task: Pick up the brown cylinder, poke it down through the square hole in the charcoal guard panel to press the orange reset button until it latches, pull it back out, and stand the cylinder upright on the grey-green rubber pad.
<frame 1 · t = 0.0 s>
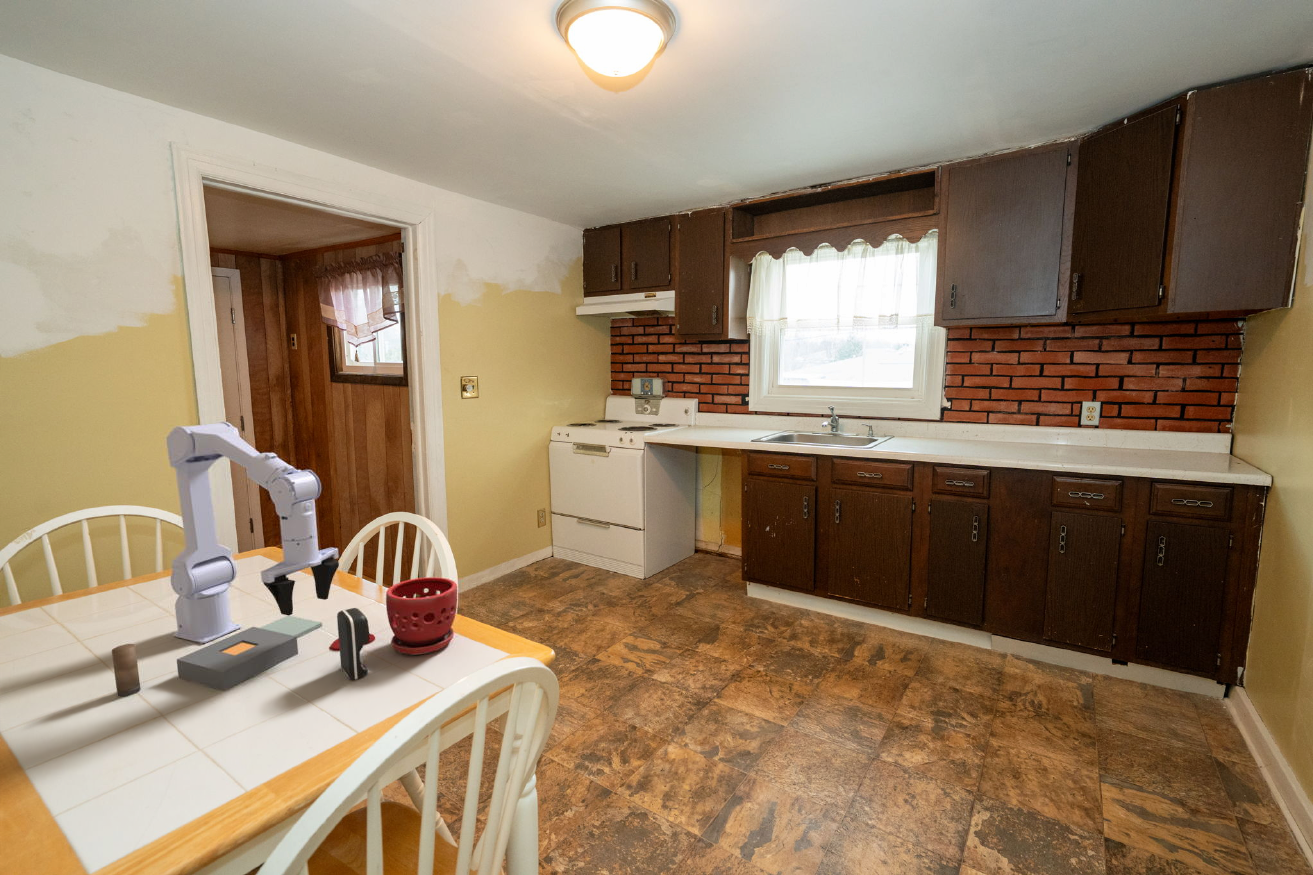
hand: (305, 606, 114), 10 cm above the table, tool pointing down, fingers open, 7 cm apart
plant pot: (425, 644, 121), on the table
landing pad: (285, 631, 126), on the table
reset button: (239, 652, 112), point 3 cm above the table, slide at 0.0 cm
lollipop: (348, 636, 125), on the table
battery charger: (357, 672, 110), on the table
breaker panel: (240, 665, 112), on the table
brown cylinder: (129, 691, 103), on the table
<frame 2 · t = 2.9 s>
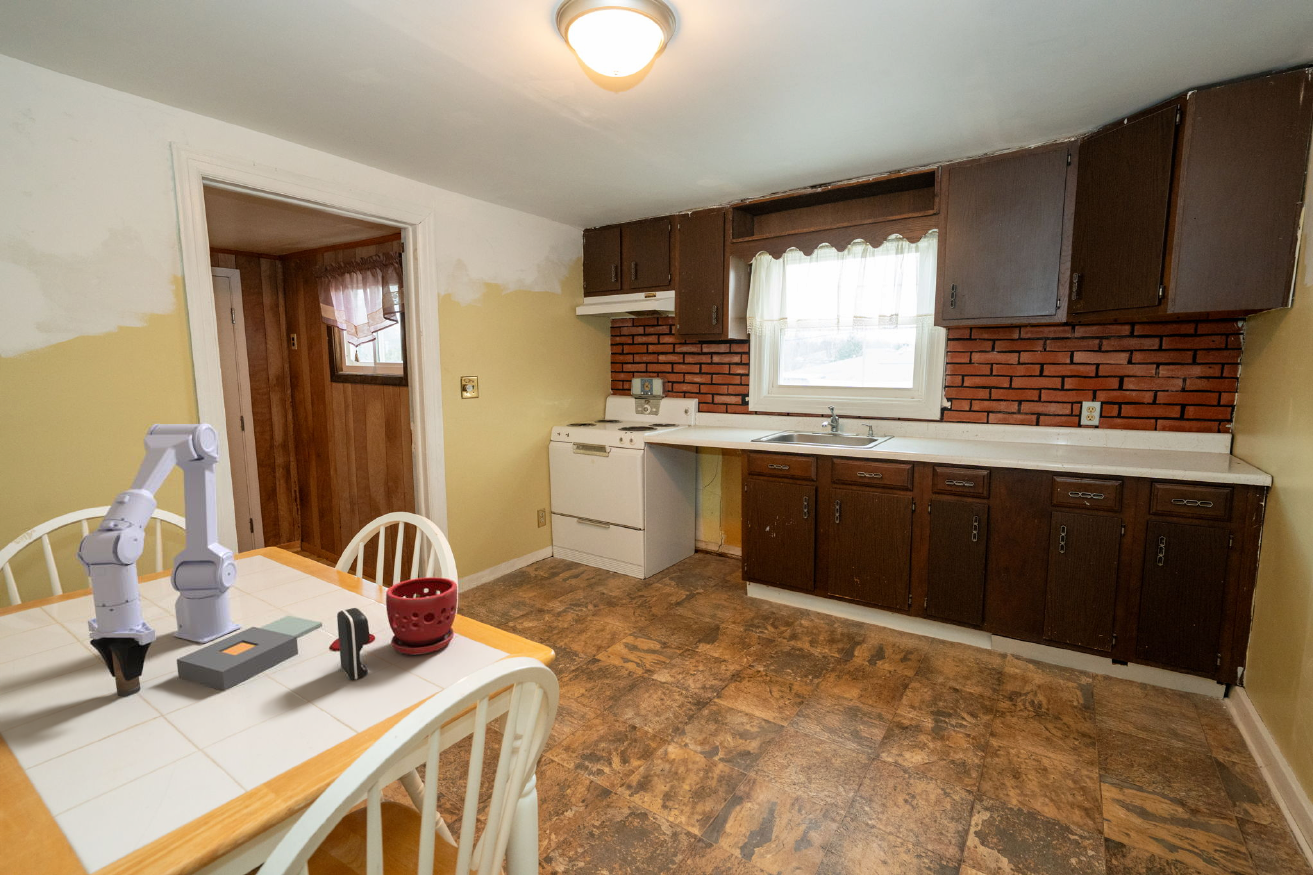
hand: (127, 675, 103), 3 cm above the table, tool pointing down, fingers closed on brown cylinder, 3 cm apart
brown cylinder: (129, 691, 103), on the table, touching gripper
everything else where it was.
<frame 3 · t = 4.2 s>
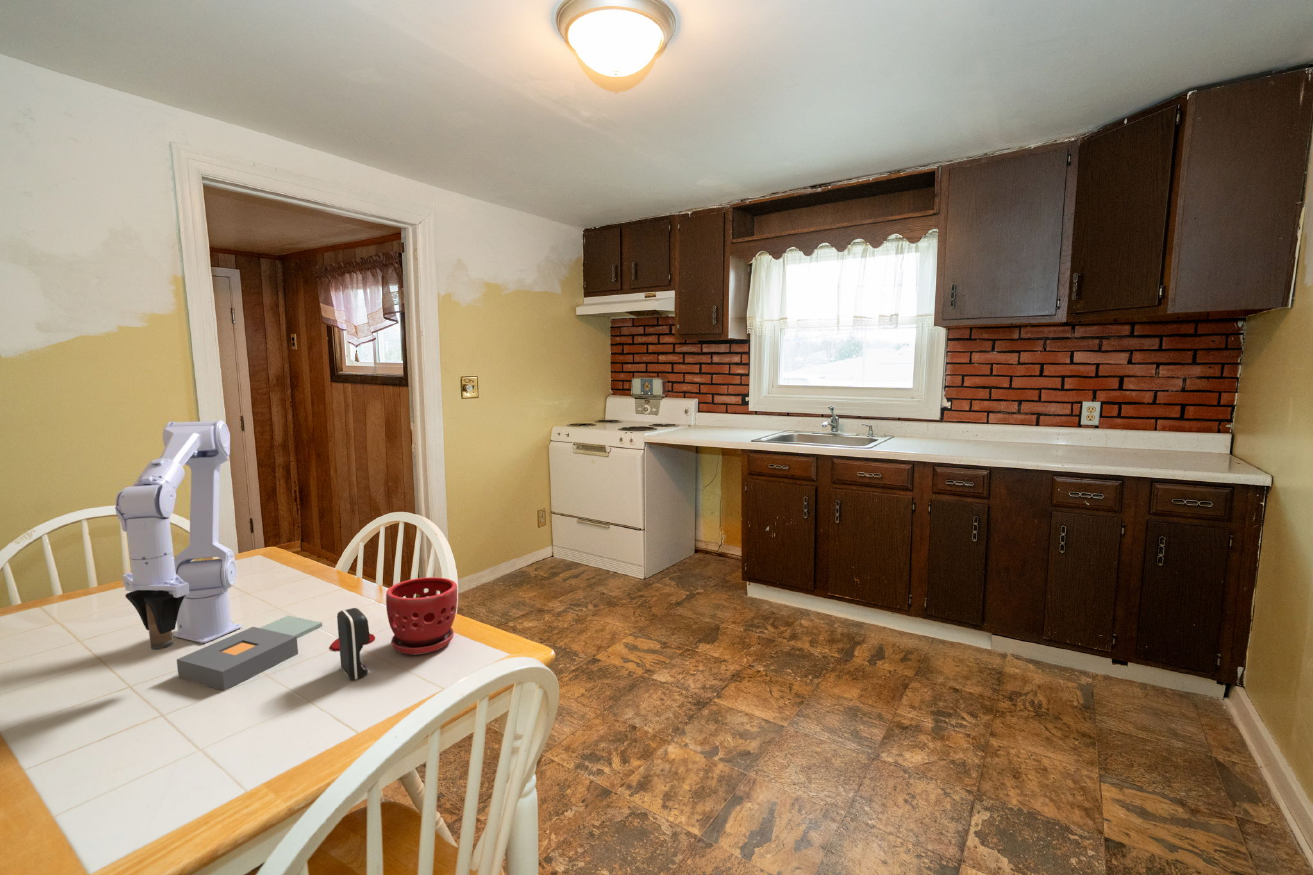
hand: (160, 629, 105), 10 cm above the table, tool pointing down, fingers closed on brown cylinder, 3 cm apart
brown cylinder: (162, 645, 105), point 7 cm above the table, touching gripper
everything else where it was.
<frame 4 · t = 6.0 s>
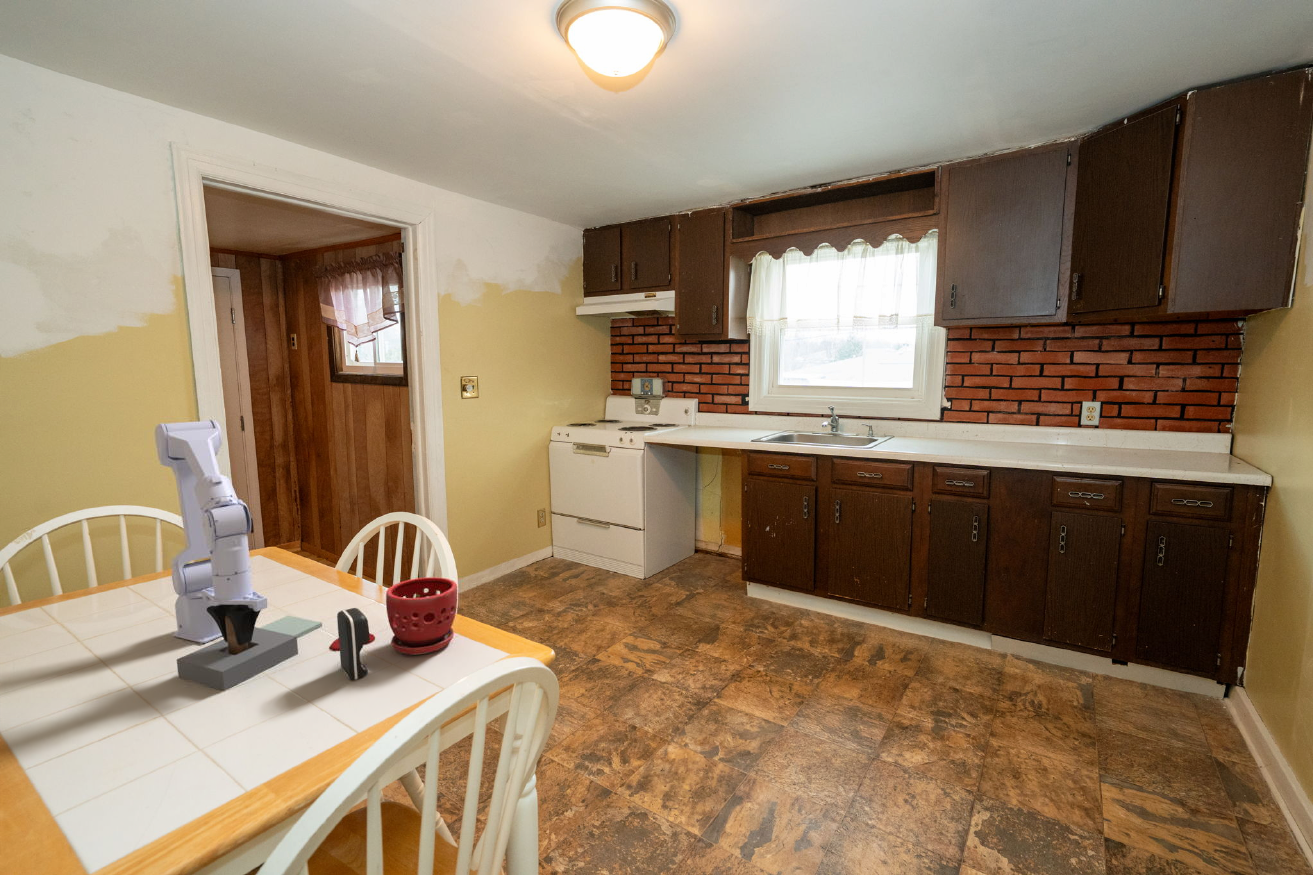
hand: (238, 641, 112), 5 cm above the table, tool pointing down, fingers closed on brown cylinder, 3 cm apart
reset button: (240, 658, 112), point 1 cm above the table, slide at 1.4 cm, touching brown cylinder
brown cylinder: (239, 656, 112), point 2 cm above the table, touching gripper, reset button
everything else where it was.
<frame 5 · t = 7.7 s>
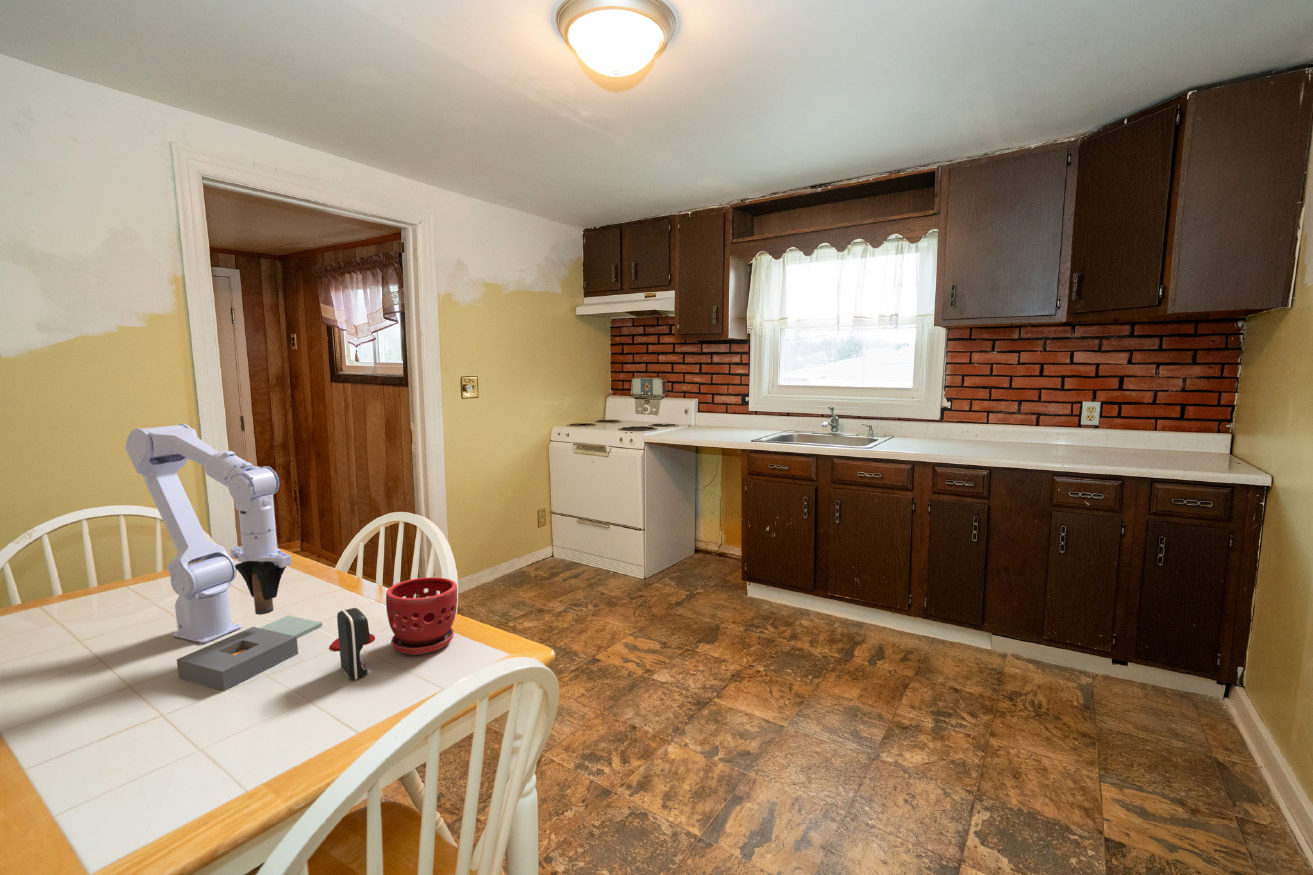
hand: (264, 596, 119), 10 cm above the table, tool pointing down, fingers closed on brown cylinder, 3 cm apart
reset button: (240, 658, 112), point 1 cm above the table, slide at 1.4 cm
brown cylinder: (264, 611, 119), point 7 cm above the table, touching gripper
everything else where it was.
when the fingers open (5 cm above the table, at t = 9.4 s): brown cylinder stays where it is, resting on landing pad.
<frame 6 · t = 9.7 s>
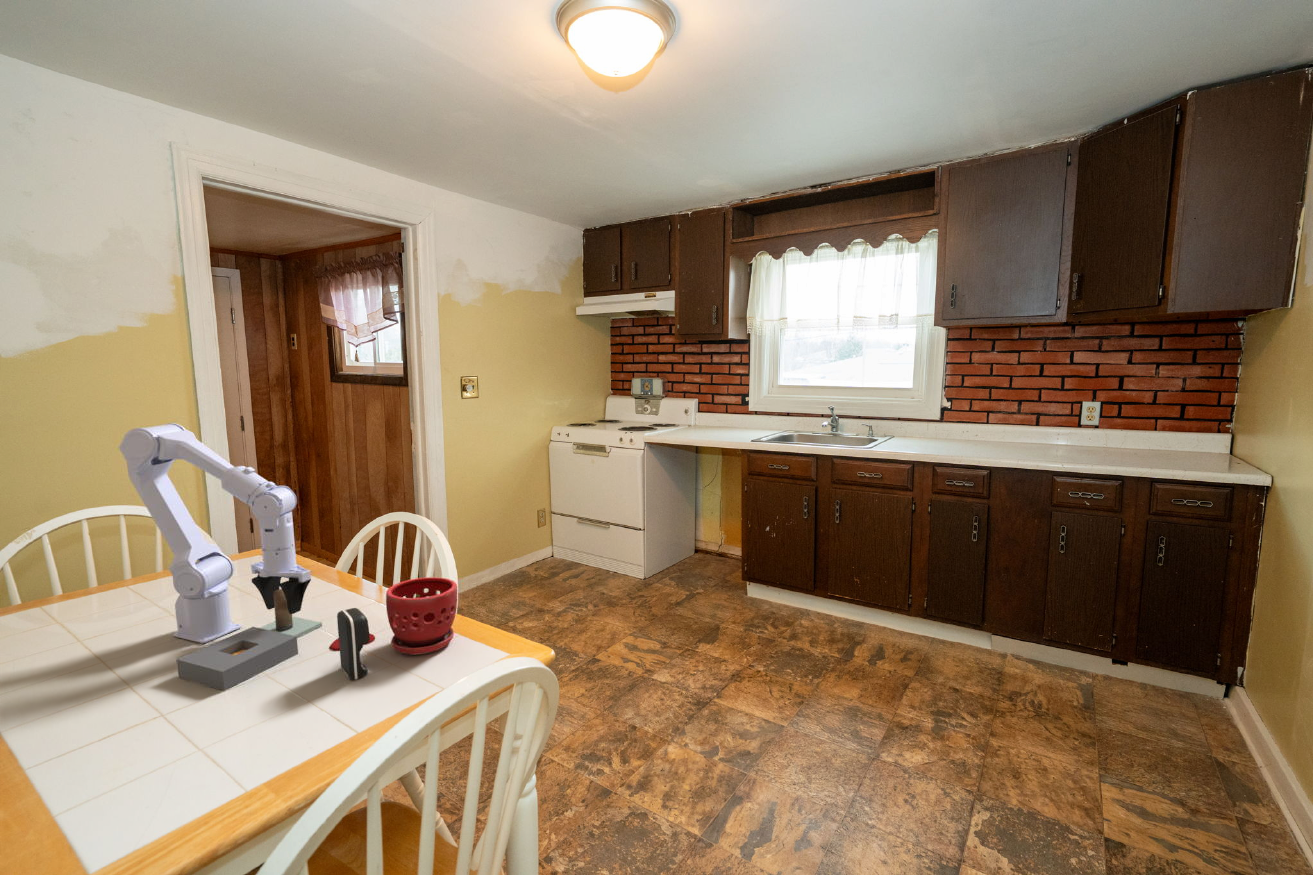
hand: (283, 609, 125), 5 cm above the table, tool pointing down, fingers open, 6 cm apart
brown cylinder: (284, 628, 126), point 1 cm above the table, touching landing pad
everything else where it was.
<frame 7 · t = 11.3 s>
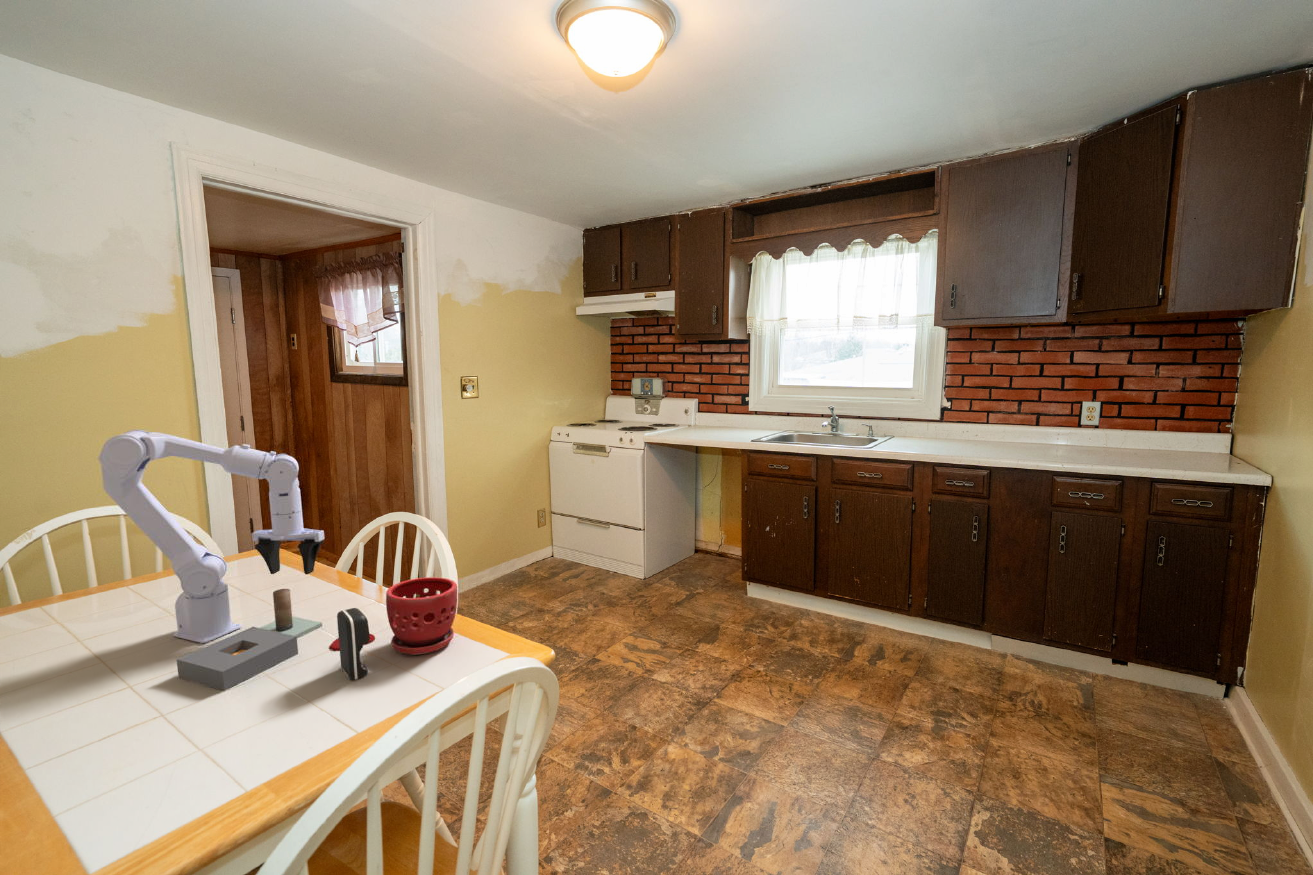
hand: (292, 572, 131), 10 cm above the table, tool pointing down, fingers open, 7 cm apart
nothing on the table moved.
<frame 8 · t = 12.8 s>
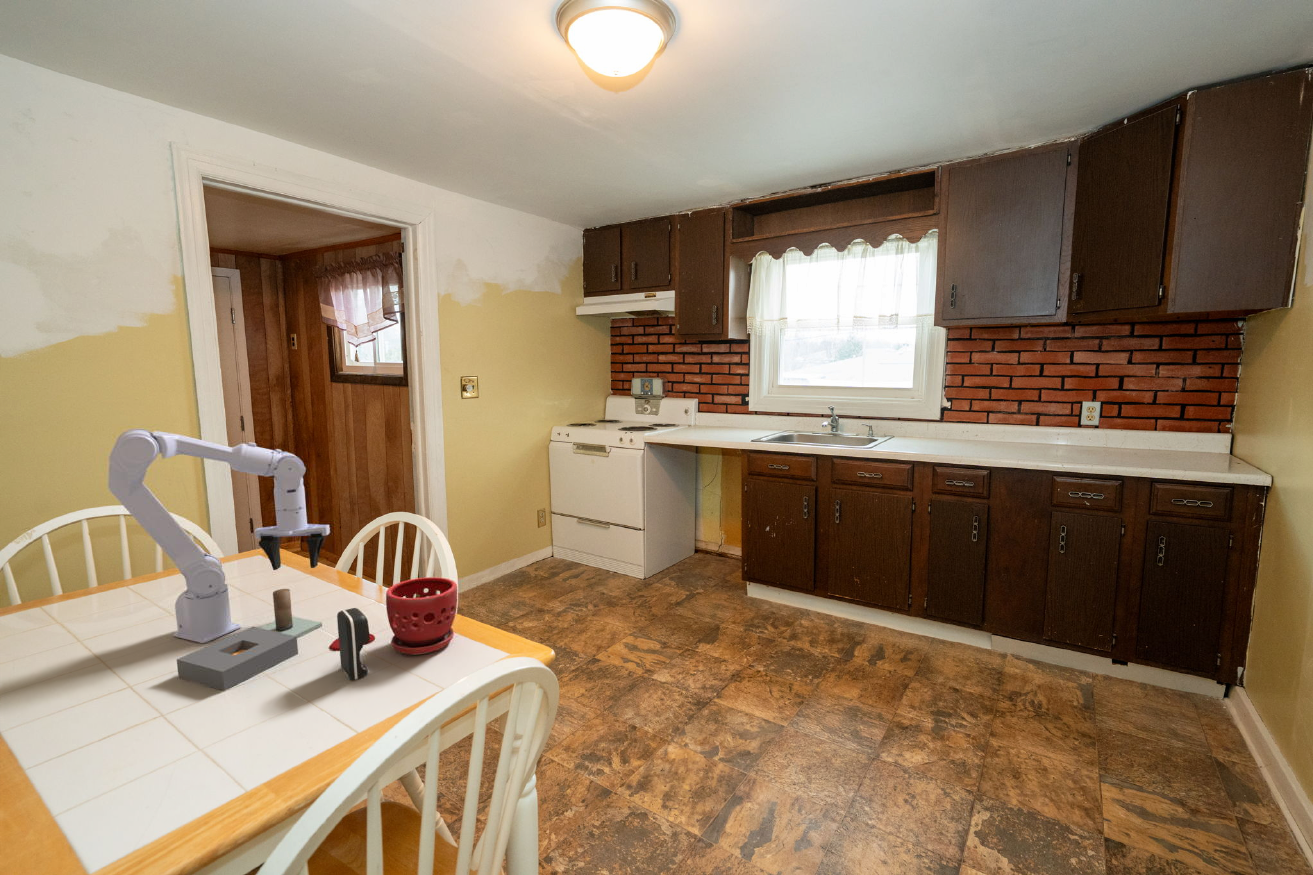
hand: (295, 567, 134), 10 cm above the table, tool pointing down, fingers open, 7 cm apart
nothing on the table moved.
at the end: reset button slide at 1.4 cm; brown cylinder inside the target area on the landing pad (0.2 cm from its centre), point 0.8 cm above the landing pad's base; brown cylinder tilted 0° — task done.
